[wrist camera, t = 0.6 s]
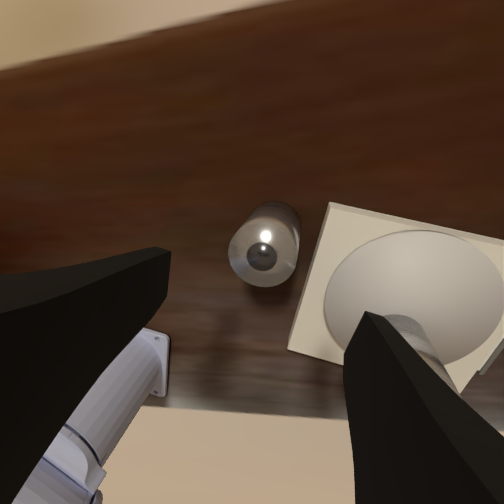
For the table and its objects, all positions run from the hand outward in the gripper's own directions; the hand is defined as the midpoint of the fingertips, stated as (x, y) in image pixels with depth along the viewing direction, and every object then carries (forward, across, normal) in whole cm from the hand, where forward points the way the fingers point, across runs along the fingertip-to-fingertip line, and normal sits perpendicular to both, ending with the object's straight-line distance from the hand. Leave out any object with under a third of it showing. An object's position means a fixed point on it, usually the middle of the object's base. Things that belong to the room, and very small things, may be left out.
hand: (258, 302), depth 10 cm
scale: (+9, -8, +3) cm, 13 cm away
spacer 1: (+10, +1, 0) cm, 10 cm away
